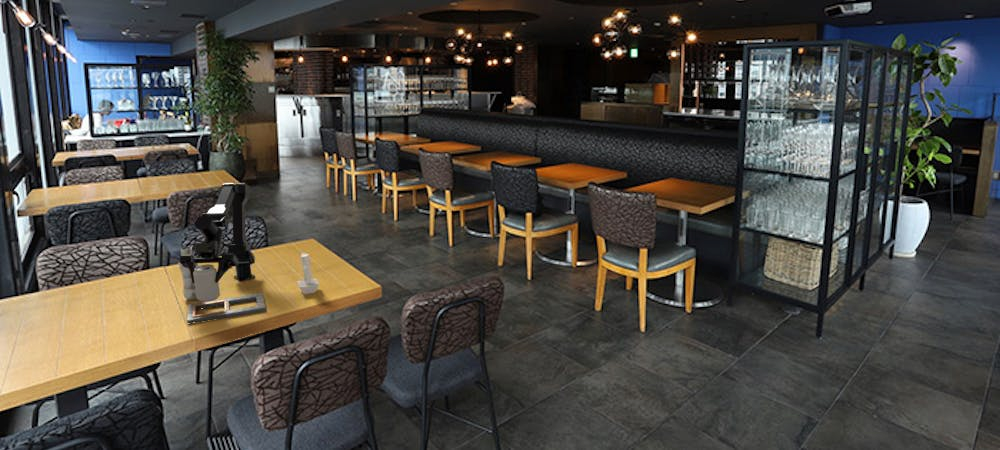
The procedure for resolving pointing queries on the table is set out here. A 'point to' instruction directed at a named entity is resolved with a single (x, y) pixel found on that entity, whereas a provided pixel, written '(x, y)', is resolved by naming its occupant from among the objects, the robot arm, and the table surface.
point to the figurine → (307, 277)
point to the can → (206, 283)
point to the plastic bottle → (187, 277)
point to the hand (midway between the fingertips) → (204, 282)
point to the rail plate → (226, 308)
